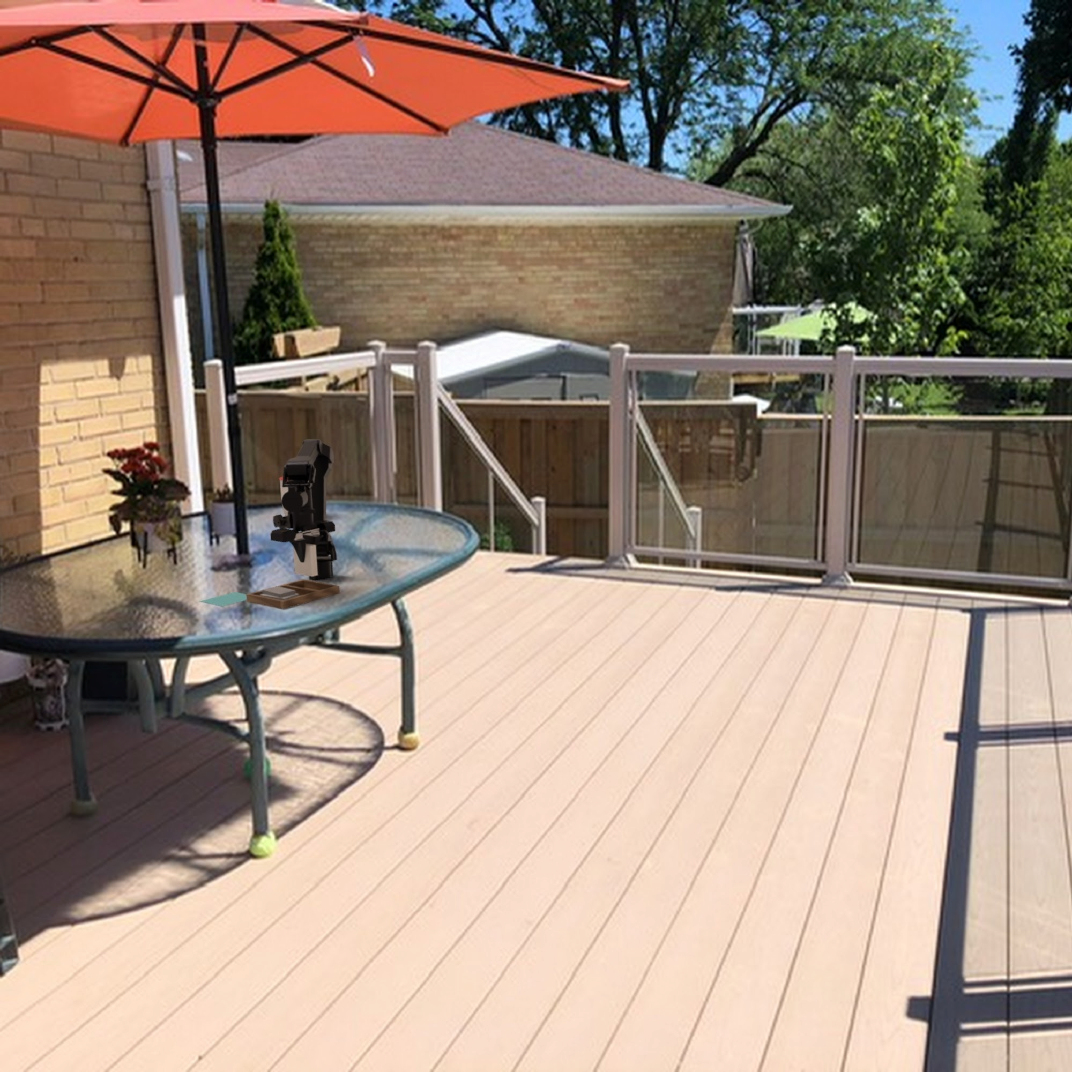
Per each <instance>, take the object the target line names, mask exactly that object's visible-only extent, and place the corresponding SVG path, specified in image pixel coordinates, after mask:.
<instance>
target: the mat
mask: <svg viewBox="0 0 1072 1072" xmlns="http://www.w3.org/2000/svg"><path fill="white" fill-rule="evenodd" d="M244 601H245V602H246V601H247V596H246V593H242V592H237V591H235V592H234V591H233V592H229V593H226V594H223V595H222V594H221V595H218V596H215V597H211V598H207V599H204V600H199V602H200V603H204V604H209V605H214V606H218V607H225V606H226V607H227V606H230V605H233V604H237V603H240V602H244Z"/></svg>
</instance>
